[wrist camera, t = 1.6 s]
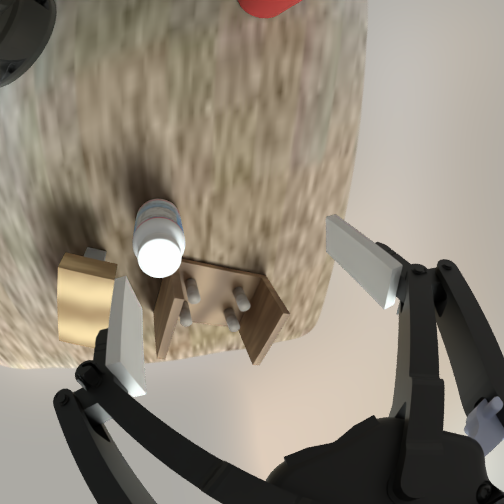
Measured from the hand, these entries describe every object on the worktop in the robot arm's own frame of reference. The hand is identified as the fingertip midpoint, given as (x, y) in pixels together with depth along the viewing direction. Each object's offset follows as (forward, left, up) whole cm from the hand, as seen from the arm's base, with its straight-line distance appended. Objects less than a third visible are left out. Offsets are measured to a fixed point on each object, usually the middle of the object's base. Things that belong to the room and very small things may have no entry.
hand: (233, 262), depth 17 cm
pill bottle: (-3, -7, -22) cm, 23 cm away
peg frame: (+9, -18, -22) cm, 29 cm away
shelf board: (-10, -18, -16) cm, 26 cm away
